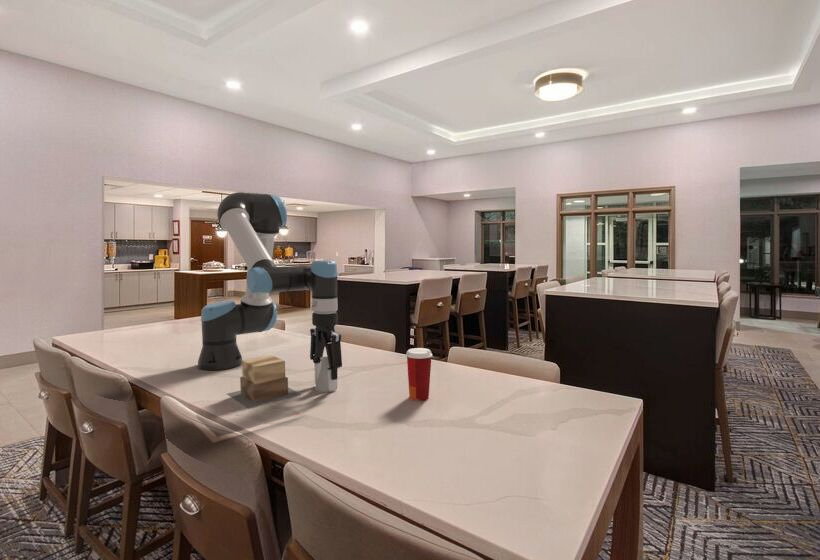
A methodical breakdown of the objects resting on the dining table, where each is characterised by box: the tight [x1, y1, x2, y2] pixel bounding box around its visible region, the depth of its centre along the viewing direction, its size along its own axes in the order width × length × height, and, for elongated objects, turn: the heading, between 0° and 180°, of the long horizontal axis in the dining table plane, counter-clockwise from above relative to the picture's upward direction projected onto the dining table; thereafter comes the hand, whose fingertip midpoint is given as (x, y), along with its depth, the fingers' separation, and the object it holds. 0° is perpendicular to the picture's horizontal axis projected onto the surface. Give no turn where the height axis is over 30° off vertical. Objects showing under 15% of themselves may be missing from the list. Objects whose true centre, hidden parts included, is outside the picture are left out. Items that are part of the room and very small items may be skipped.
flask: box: [313, 356, 337, 393], centre depth 132 cm, size 7×7×10 cm
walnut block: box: [240, 376, 289, 403], centre depth 127 cm, size 10×10×5 cm
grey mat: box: [226, 386, 303, 409], centre depth 127 cm, size 16×16×1 cm
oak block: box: [241, 354, 286, 384], centre depth 126 cm, size 9×9×5 cm
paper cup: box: [405, 347, 433, 402], centre depth 126 cm, size 8×8×14 cm
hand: (325, 386), depth 132 cm, fingers closed on flask, 7 cm apart
